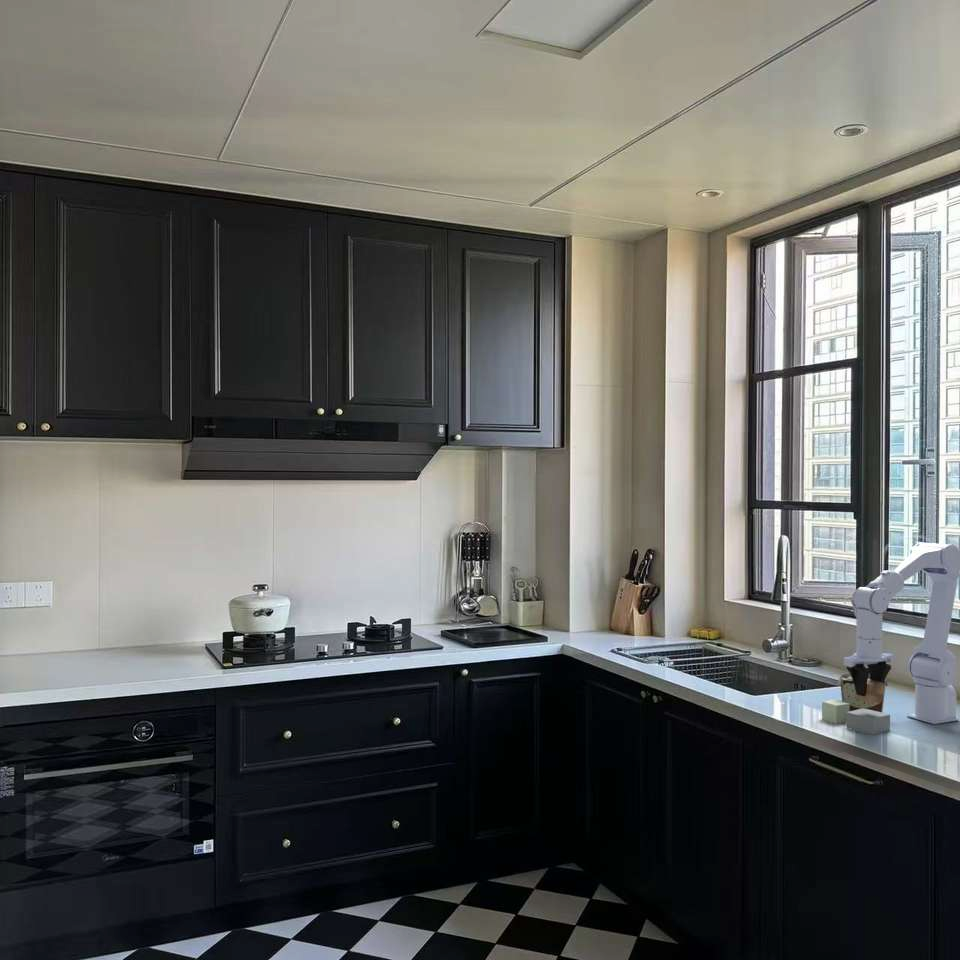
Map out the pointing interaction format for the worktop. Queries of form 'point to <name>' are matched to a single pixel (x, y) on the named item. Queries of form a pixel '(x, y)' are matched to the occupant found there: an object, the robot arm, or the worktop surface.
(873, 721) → the slate block
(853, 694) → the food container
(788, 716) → the worktop surface
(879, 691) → the walnut cube
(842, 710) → the sage cube
